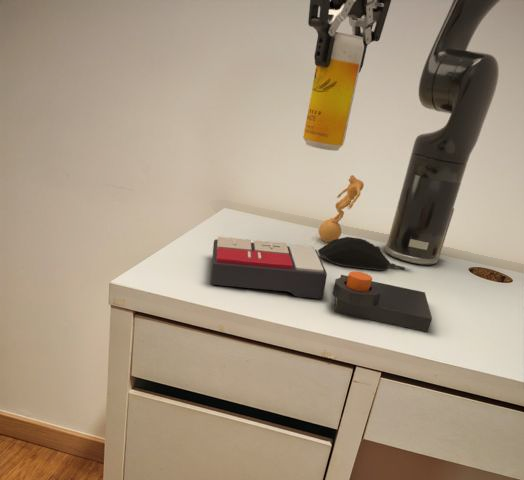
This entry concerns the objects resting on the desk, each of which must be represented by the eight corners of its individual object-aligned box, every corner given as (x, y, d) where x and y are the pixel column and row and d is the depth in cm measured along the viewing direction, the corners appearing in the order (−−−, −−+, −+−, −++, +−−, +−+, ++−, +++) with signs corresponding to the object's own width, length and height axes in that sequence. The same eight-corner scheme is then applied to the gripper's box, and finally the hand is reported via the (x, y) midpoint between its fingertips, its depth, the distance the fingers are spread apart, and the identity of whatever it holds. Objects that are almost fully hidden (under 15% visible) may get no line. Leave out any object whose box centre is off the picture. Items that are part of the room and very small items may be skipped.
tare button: (346, 282, 76) (349, 269, 75) (369, 286, 76) (372, 274, 75) (345, 289, 74) (348, 276, 73) (369, 294, 73) (372, 281, 73)
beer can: (299, 140, 90) (319, 30, 83) (338, 146, 91) (360, 38, 84) (305, 146, 84) (326, 29, 78) (345, 153, 85) (370, 38, 78)
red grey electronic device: (214, 233, 84) (317, 243, 85) (212, 262, 86) (312, 271, 87) (212, 257, 74) (328, 268, 76) (210, 289, 76) (323, 299, 78)
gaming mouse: (410, 276, 94) (417, 252, 92) (321, 264, 92) (326, 239, 90) (398, 263, 100) (405, 240, 98) (314, 251, 97) (319, 228, 96)
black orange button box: (332, 285, 84) (338, 262, 82) (421, 304, 83) (428, 281, 81) (328, 314, 74) (334, 288, 72) (428, 335, 73) (437, 310, 71)
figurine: (312, 233, 108) (326, 167, 102) (343, 237, 109) (359, 172, 103) (321, 247, 100) (337, 176, 95) (354, 252, 101) (372, 182, 96)
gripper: (351, -91, 68) (322, 66, 76) (421, -59, 77) (389, 79, 85) (306, -89, 73) (283, 59, 80) (378, -59, 82) (350, 71, 90)
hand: (337, 69), depth 83 cm, fingers closed on beer can, 6 cm apart
